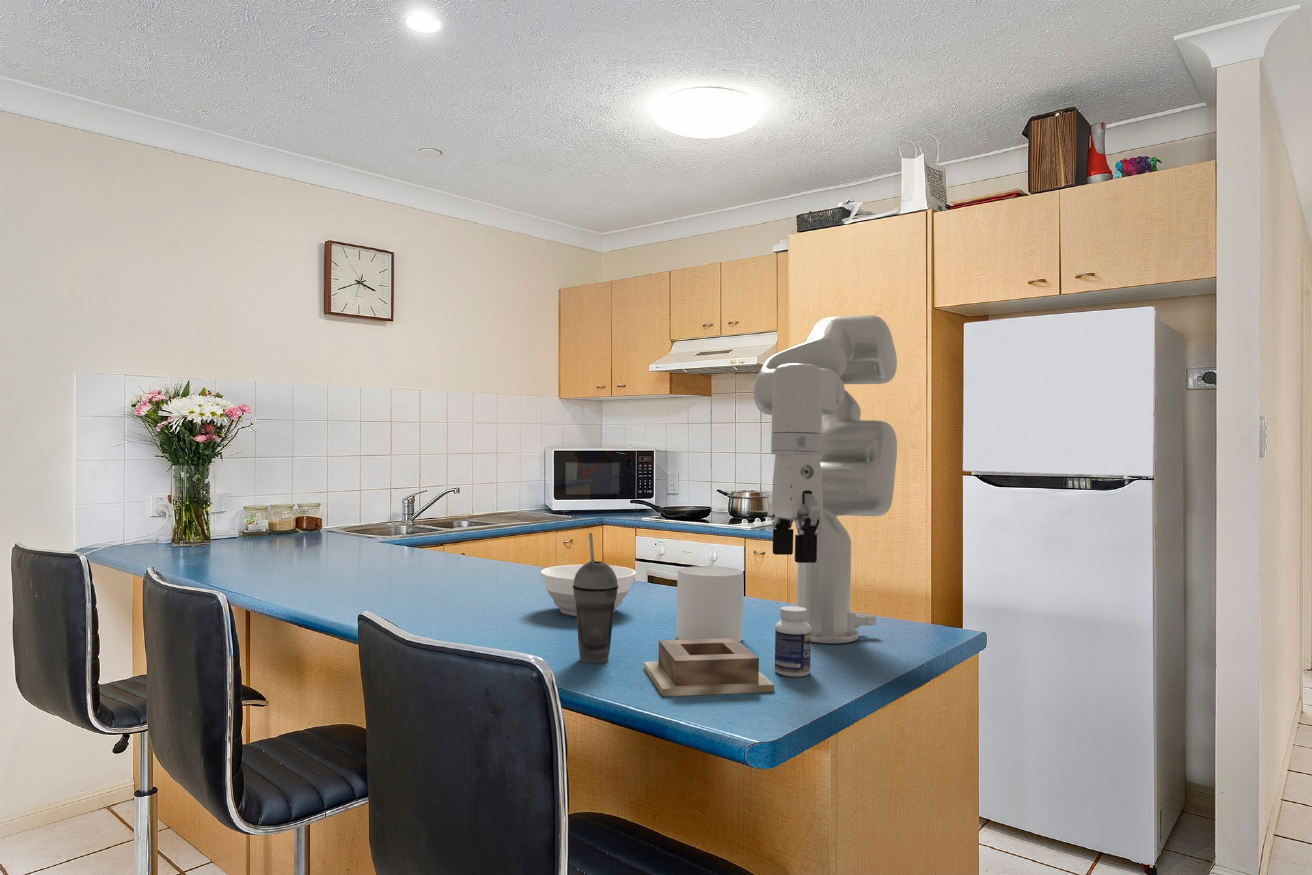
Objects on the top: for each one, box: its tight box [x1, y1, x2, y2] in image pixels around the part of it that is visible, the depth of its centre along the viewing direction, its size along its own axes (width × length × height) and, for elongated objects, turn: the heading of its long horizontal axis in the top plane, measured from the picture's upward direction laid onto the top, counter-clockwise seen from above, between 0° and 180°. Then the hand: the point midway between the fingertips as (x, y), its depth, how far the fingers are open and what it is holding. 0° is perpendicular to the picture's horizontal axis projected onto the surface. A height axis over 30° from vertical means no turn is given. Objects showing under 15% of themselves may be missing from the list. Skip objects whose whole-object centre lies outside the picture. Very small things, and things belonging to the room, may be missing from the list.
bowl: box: [540, 563, 637, 617], centre depth 167 cm, size 20×20×8 cm
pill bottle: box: [774, 605, 812, 678], centre depth 125 cm, size 5×5×10 cm
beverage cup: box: [573, 532, 618, 664], centre depth 130 cm, size 7×7×20 cm
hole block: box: [643, 638, 775, 697], centre depth 120 cm, size 16×14×4 cm
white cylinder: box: [676, 565, 744, 643], centre depth 146 cm, size 12×12×12 cm
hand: (793, 558), depth 125 cm, fingers open, 9 cm apart
